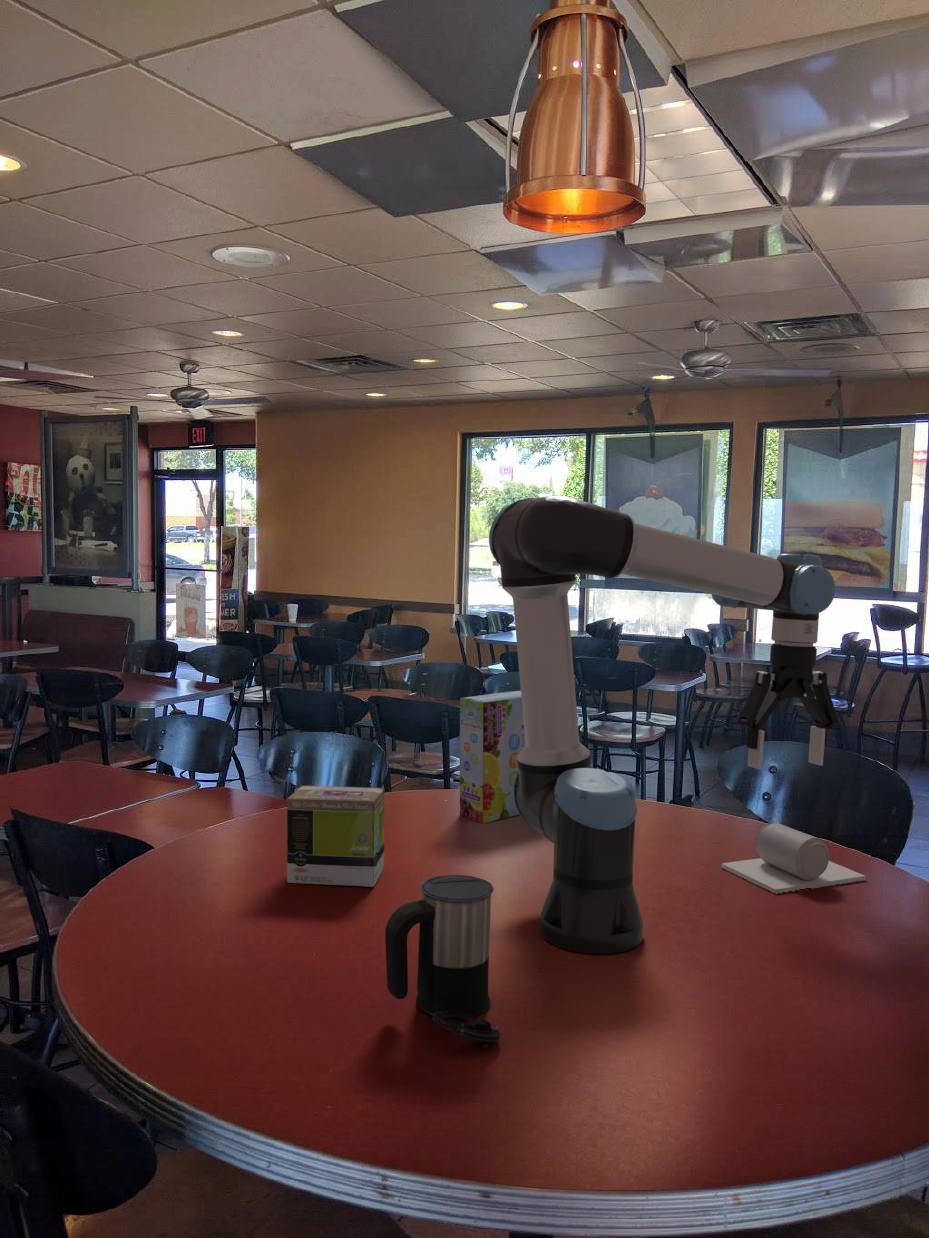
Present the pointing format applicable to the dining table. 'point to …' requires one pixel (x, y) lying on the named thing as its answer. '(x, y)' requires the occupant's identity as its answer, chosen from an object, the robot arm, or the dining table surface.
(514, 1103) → the dining table surface
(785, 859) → the can
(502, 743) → the snack box
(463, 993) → the milk frother
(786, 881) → the placemat
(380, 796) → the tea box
